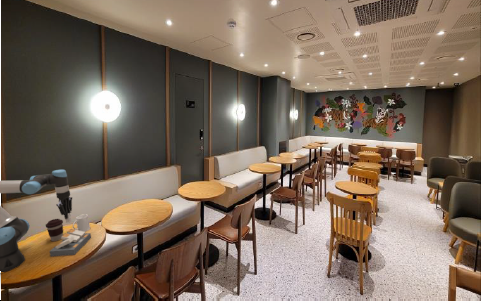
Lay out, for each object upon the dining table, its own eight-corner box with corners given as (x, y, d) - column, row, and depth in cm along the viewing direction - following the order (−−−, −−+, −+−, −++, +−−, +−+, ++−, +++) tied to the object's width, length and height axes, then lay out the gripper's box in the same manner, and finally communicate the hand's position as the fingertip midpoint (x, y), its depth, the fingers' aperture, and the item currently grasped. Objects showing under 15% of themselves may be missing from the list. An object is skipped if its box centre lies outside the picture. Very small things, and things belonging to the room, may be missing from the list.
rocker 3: (66, 234, 158) (67, 231, 157) (70, 231, 162) (71, 228, 162) (81, 237, 159) (81, 235, 159) (84, 234, 164) (85, 231, 163)
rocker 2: (60, 239, 152) (61, 236, 152) (65, 235, 156) (65, 232, 156) (75, 242, 153) (76, 239, 153) (79, 238, 158) (80, 236, 157)
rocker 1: (56, 249, 147) (54, 246, 146) (61, 245, 151) (59, 242, 151) (70, 242, 147) (68, 240, 146) (74, 238, 151) (72, 236, 151)
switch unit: (50, 256, 145) (49, 249, 144) (70, 239, 165) (69, 233, 164) (74, 254, 147) (73, 247, 146) (91, 237, 167) (90, 231, 166)
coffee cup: (49, 237, 167) (46, 219, 164) (66, 233, 173) (63, 216, 170) (47, 244, 159) (43, 225, 156) (64, 239, 164) (61, 221, 162)
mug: (76, 235, 170) (74, 221, 168) (70, 233, 174) (68, 219, 171) (92, 228, 180) (90, 215, 178) (86, 226, 184) (84, 213, 182)
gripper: (61, 194, 147) (67, 226, 152) (74, 187, 160) (79, 217, 165) (50, 195, 147) (56, 227, 151) (63, 188, 160) (69, 217, 164)
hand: (68, 221), depth 158 cm, fingers closed
